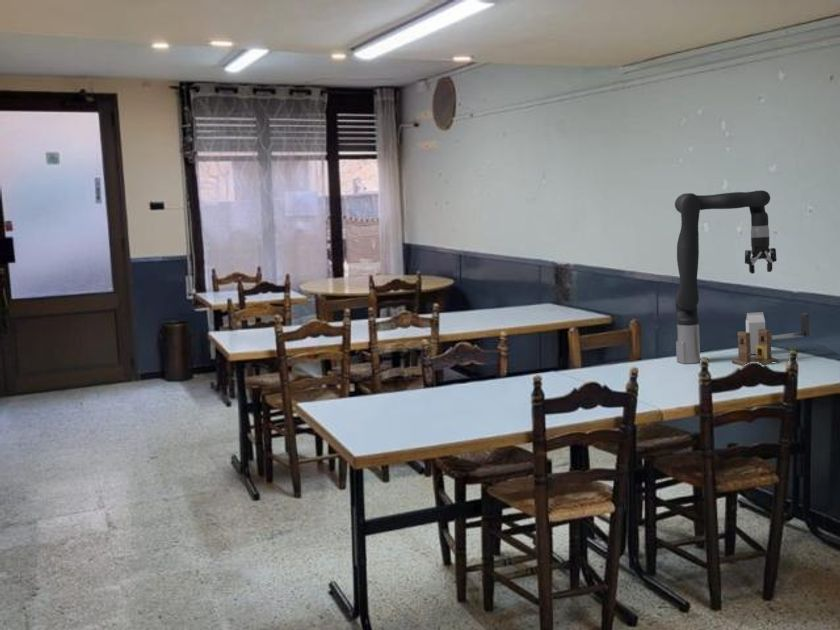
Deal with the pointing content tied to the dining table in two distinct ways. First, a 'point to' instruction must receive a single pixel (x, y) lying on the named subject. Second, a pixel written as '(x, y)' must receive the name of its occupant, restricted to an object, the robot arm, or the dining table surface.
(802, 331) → the grey l-shaped piece
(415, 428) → the dining table surface
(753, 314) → the milk carton
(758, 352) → the spacer
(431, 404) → the dining table surface
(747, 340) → the stand
